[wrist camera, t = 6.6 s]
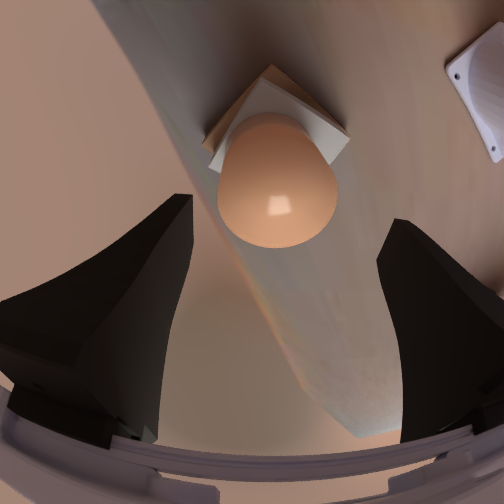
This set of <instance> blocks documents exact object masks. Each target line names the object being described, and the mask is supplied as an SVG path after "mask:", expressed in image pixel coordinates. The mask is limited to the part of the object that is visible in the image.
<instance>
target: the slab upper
mask: <svg viewBox="0 0 504 504" xmlns="http://www.w3.org/2000/svg"><path fill="white" fill-rule="evenodd" d="M270 112H272V113H280V114H284V115H287V116H289V117H291V118H293V119H295V120H296V121H297V122H299V123H300V124H301V125H302V126H303V127H304V128H305V130H306V131H307V132H308V134H309V135H310V137H311V138H312V140H313V141H314V143H315V144H316V146H317V147H318V149H319V151H320V152H321V154H322V155H323V157H324V158H325V160H326V162H327V163H328V165H330V164H331V163H332V161H333V160H334V159H335V158H336V156H337V155H338V154H339V153H340V151H341V150H342V149H343V148H344V146H345V145H346V144H347V143H348V141H349V140H350V138H349V137H348V135H347V134H346V133H345V132H344V131H343V129H342V128H341V127H340V126H338V125H337V124H336V123H334V122H333V121H331V120H330V119H328V118H327V117H326V116H324V115H323V114H321V113H320V112H318V111H317V110H315V109H314V108H312V107H311V106H309V105H307V104H306V103H304V102H303V101H301V100H300V99H298V98H296V97H295V96H293V95H292V94H290V93H288V92H287V91H285V90H283V89H282V88H280V87H278V86H277V85H275V84H273V83H271V82H270V81H268V80H266V79H264V78H263V77H260V79H259V80H258V82H257V83H256V85H255V87H254V88H253V90H252V91H251V93H250V94H249V96H248V97H247V99H246V101H245V102H244V104H243V105H242V107H241V108H240V110H239V112H238V113H237V115H236V117H235V118H234V120H233V121H232V123H231V125H230V126H229V128H228V130H227V131H226V133H225V135H224V136H223V138H222V140H221V142H220V143H219V145H218V147H217V148H216V150H215V152H214V154H213V157H212V159H211V162H210V164H209V168H211V169H213V170H215V171H217V172H219V173H221V170H222V165H223V160H224V155H225V151H226V146H227V142H228V139H229V137H230V135H231V133H232V132H233V130H234V129H235V128H236V127H237V126H238V125H239V124H240V123H241V122H242V121H244V120H245V119H247V118H249V117H251V116H253V115H256V114H260V113H270Z"/></svg>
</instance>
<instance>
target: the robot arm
mask: <svg viewBox="0 0 504 504" xmlns="http://www.w3.org/2000/svg"><path fill="white" fill-rule="evenodd" d="M446 73H447V75H448V76H449V78H450V79H451V81H452V83H453V84H454V86H455V88H456V89H457V91H458V93H459V94H460V96H461V98H462V100H463V101H464V103H465V105H466V107H467V109H468V111H469V112H470V114H471V116H472V118H473V120H474V122H475V124H476V126H477V128H478V130H479V132H480V135H481V137H482V139H483V141H484V143H485V146H486V148H487V150H488V152H489V155H490V157H491V159H492V161H494V162H495V163H496V162H498V161H500V160H501V159H502V158H504V23H503V22H497V23H496V24H495V25H494V26H492V27H491V28H490V29H489V30H488V31H486V32H485V33H484V34H483V35H482V36H480V37H479V38H478V39H477V40H476V41H474V42H473V43H472V44H471V45H470V46H469V47H467V48H466V49H465V50H464V51H463V52H461V53H460V54H459V55H458V56H457V57H455V58H454V59H453V60H452V61H451V62H450V63H448V64H447V66H446ZM455 74H457V78H456V79H455V77H454V76H455ZM492 146H493V148H492ZM193 237H194V236H193V195H190V194H174V195H172V196H171V197H170V198H169V199H168V200H166V201H165V202H164V203H163V204H162V205H160V206H159V207H158V208H157V209H156V210H155V211H153V212H152V213H151V214H150V215H149V216H147V217H146V218H145V219H144V220H143V221H141V222H140V223H139V224H138V225H136V226H135V227H134V228H132V229H131V230H130V231H128V232H127V233H126V234H125V235H123V236H122V237H121V238H120V239H118V240H117V241H115V242H114V243H113V244H111V245H110V246H108V247H107V248H106V249H104V250H102V251H101V252H99V253H98V254H96V255H95V256H93V257H92V258H90V259H88V260H86V261H84V262H83V263H81V264H79V265H78V266H76V267H74V268H73V269H71V270H69V271H67V272H65V273H64V274H62V275H60V276H58V277H56V278H54V279H52V280H50V281H48V282H46V283H43V284H41V285H39V286H37V287H35V288H33V289H30V290H28V291H26V292H23V293H21V294H18V295H16V296H13V297H11V298H8V299H6V300H3V301H1V302H0V371H1V372H2V373H3V374H4V375H5V376H7V377H8V378H9V379H10V380H11V381H12V382H13V383H14V388H13V390H12V392H10V391H9V390H7V389H5V388H4V387H2V386H1V385H0V480H2V481H3V482H4V483H5V484H7V485H8V486H10V487H11V488H12V489H14V490H15V491H17V492H18V493H19V494H21V495H22V496H24V497H25V498H27V499H28V500H30V501H31V502H33V503H35V504H220V503H219V501H220V491H219V490H218V489H217V488H216V487H215V486H212V485H204V484H198V483H191V482H186V481H181V480H175V479H170V478H165V477H162V476H161V474H160V473H158V472H157V471H159V472H164V473H170V474H176V475H182V476H189V477H196V478H205V479H216V480H226V481H244V482H294V481H311V480H322V479H333V478H341V477H349V476H355V475H362V474H368V473H373V472H379V471H384V470H388V469H393V468H397V467H401V466H405V465H409V464H413V463H417V462H420V461H424V460H427V459H431V458H434V457H436V459H435V460H434V462H433V463H430V464H427V465H424V466H422V467H420V468H417V469H415V470H412V471H410V472H407V473H404V474H400V475H397V476H394V477H391V478H389V479H388V486H389V491H388V492H387V493H383V494H379V495H374V496H369V497H364V498H358V499H353V500H346V501H340V502H332V503H325V504H504V300H503V299H501V298H500V297H499V296H497V295H496V294H495V293H493V292H492V291H491V290H489V289H488V288H487V287H486V286H484V285H483V284H482V283H481V282H479V281H478V280H477V279H476V278H475V277H473V276H472V275H471V274H470V273H469V272H468V271H467V270H465V269H464V268H463V267H462V266H461V265H460V264H459V263H458V262H457V261H455V260H454V259H453V258H452V257H451V256H450V255H449V254H448V253H447V252H446V251H444V250H443V249H442V248H441V247H440V246H439V245H438V244H437V243H436V242H435V241H433V240H432V239H431V238H430V237H429V236H428V235H427V234H425V233H424V232H423V231H422V230H421V229H419V228H418V227H417V226H415V225H414V224H413V223H411V222H410V221H408V220H402V219H396V218H395V219H394V221H393V223H392V226H391V228H390V231H389V233H388V235H387V237H386V240H385V242H384V244H383V246H382V249H381V251H380V253H379V255H378V257H377V260H376V261H377V267H378V273H379V277H380V282H381V286H382V289H383V292H384V296H385V299H386V302H387V305H388V308H389V312H390V315H391V318H392V322H393V325H394V328H395V332H396V336H397V340H398V346H399V352H400V360H401V369H402V382H403V417H402V430H401V439H400V444H396V445H391V446H386V447H380V448H374V449H367V450H360V451H352V452H344V453H333V454H320V455H302V456H251V455H232V454H220V453H209V452H201V451H192V450H185V449H178V448H172V447H166V446H161V445H155V444H152V443H154V442H155V441H156V440H157V439H158V420H159V406H160V396H161V387H162V378H163V371H164V364H165V356H166V351H167V344H168V339H169V333H170V328H171V324H172V320H173V317H174V314H175V310H176V307H177V304H178V301H179V297H180V294H181V291H182V288H183V285H184V281H185V278H186V275H187V272H188V269H189V265H190V260H191V254H192V249H193V244H194V238H193ZM437 456H438V457H437Z"/></svg>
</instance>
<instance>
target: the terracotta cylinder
mask: <svg viewBox="0 0 504 504" xmlns="http://www.w3.org/2000/svg"><path fill="white" fill-rule="evenodd" d="M337 197H338V188H337V183H336V179H335V176H334V174H333V172H332V170H331V168H330V166H329V165H328V163H327V162H326V160H325V158H324V157H323V155H322V154H321V152H320V151H319V149H318V147H317V146H316V144H315V143H314V141H313V140H312V138H311V137H310V135H309V134H308V132H307V131H306V130H305V128H304V127H303V126H302V125H301V124H300V123H299V122H297V121H296V120H295V119H293V118H291V117H289V116H287V115H284V114H280V113H272V112H270V113H260V114H256V115H253V116H251V117H249V118H247V119H245V120H244V121H242V122H241V123H240V124H239V125H238V126H237V127H236V128H235V129H234V130H233V132H232V133H231V135H230V137H229V139H228V142H227V146H226V151H225V155H224V160H223V165H222V170H221V175H220V180H219V185H218V191H217V203H218V208H219V212H220V215H221V217H222V219H223V221H224V222H225V224H226V225H227V226H228V228H229V229H230V230H231V231H232V232H233V233H234V234H235V235H237V236H238V237H240V238H241V239H243V240H245V241H246V242H249V243H251V244H254V245H257V246H261V247H267V248H284V247H290V246H294V245H297V244H300V243H302V242H305V241H307V240H308V239H310V238H312V237H313V236H315V235H316V234H317V233H319V232H320V231H321V230H322V229H323V228H324V227H325V226H326V224H327V223H328V222H329V220H330V219H331V217H332V215H333V213H334V210H335V208H336V204H337Z"/></svg>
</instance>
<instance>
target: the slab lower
mask: <svg viewBox="0 0 504 504" xmlns="http://www.w3.org/2000/svg"><path fill="white" fill-rule="evenodd" d="M260 77H263V78H264V79H266V80H268V81H270V82H271V83H273V84H275V85H277V86H278V87H280V88H282V89H283V90H285V91H287V92H288V93H290V94H292V95H293V96H295V97H296V98H298V99H300V100H301V101H303V102H304V103H306V104H307V105H309V106H311V107H312V108H314V109H315V110H317V111H318V112H320V113H321V114H323V115H324V116H326V117H327V118H328V119H330V120H331V121H333V122H334V123H336V124H337V125H338V126H340V125H339V123H338V122H337V121H336V120H335V119H334V118H332V117H331V116H330V115H329V114H328V113H327V112H326V111H325V110H324V109H323V108H322V107H321V106H320V105H319V104H318V103H317V102H316V101H315V100H314V99H313V98H312V97H310V96H309V95H308V94H307V93H306V92H305V91H304V90H303V89H302V88H300V87H299V86H298V85H297V84H296V83H295V82H294V81H292V80H291V79H290V78H289V77H288V76H287V75H285V74H284V73H283V72H282V71H281V70H279V69H278V68H277V67H276V66H275V65H273V64H272V63H271V64H270V65H269V66H268V67H267V68H266V69H265V70H264V71H263V73H262V74H261V75H260V76H259V77H258V78H257V79H256V80H255V81H254V82H253V83H252V84H251V85H250V86H249V87H248V88H247V90H246V91H245V92H244V93H243V94H242V95H241V96H240V97H239V98H238V99H237V101H236V102H235V103H234V104H233V105H232V106H231V107H230V109H229V110H228V111H227V112H226V113H225V114H224V115H223V117H222V118H221V119H220V120H219V121H218V122H217V124H216V125H215V126H214V127H213V128H212V130H211V131H210V132H209V133H208V134H207V136H206V137H205V139H204V141H203V143H202V145H201V146H202V147H203V148H205V149H206V150H208V151H209V152H210V153H212V154H214V152H215V150H216V148H217V147H218V145H219V143H220V142H221V140H222V138H223V136H224V135H225V133H226V131H227V130H228V128H229V126H230V125H231V123H232V121H233V120H234V118H235V117H236V115H237V113H238V112H239V110H240V108H241V107H242V105H243V104H244V102H245V101H246V99H247V97H248V96H249V94H250V93H251V91H252V90H253V88H254V87H255V85H256V83H257V82H258V80H259V79H260ZM340 127H341V126H340ZM341 128H342V127H341ZM342 129H343V128H342ZM343 131H344V132H345V133H346V134H347V135H348V137H349V138H350V140H349V141H348V143H349V142H350V141H351V140H352V138H351V137H350V135H349V134H348V133H347V132H346V131H345V130H344V129H343Z"/></svg>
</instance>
